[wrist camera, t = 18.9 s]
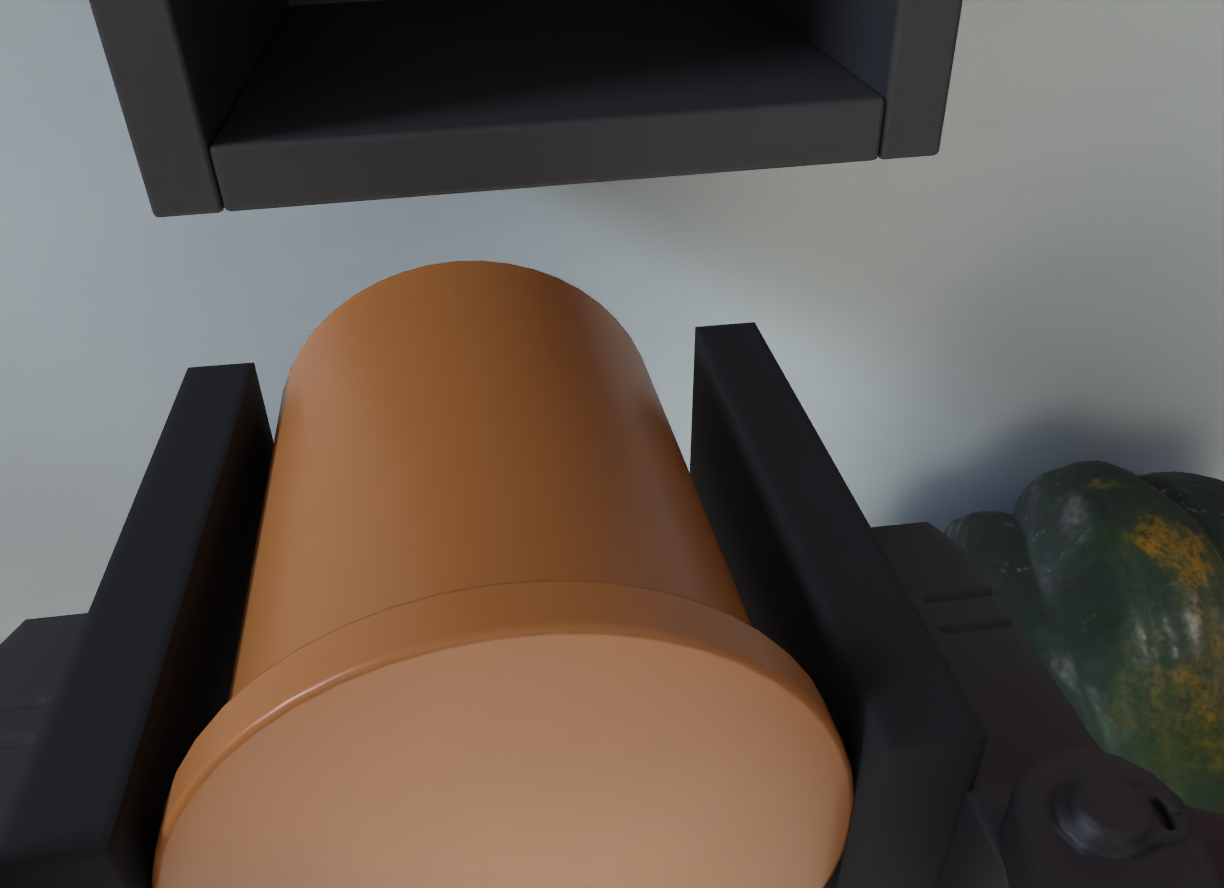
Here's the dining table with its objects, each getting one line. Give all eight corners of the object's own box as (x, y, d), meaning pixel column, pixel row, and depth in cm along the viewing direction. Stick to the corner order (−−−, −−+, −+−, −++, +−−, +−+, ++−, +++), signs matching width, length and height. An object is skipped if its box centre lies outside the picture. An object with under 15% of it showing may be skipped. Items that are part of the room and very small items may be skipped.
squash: (1470, 540, 32) (1551, 868, 20) (1205, 821, 40) (1157, 1165, 29) (1038, 342, 37) (909, 517, 25) (882, 629, 45) (732, 858, 33)
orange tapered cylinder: (299, 608, 14) (242, 1108, 9) (208, 254, 11) (40, 693, 6) (670, 561, 15) (819, 996, 10) (679, 216, 12) (905, 577, 7)
